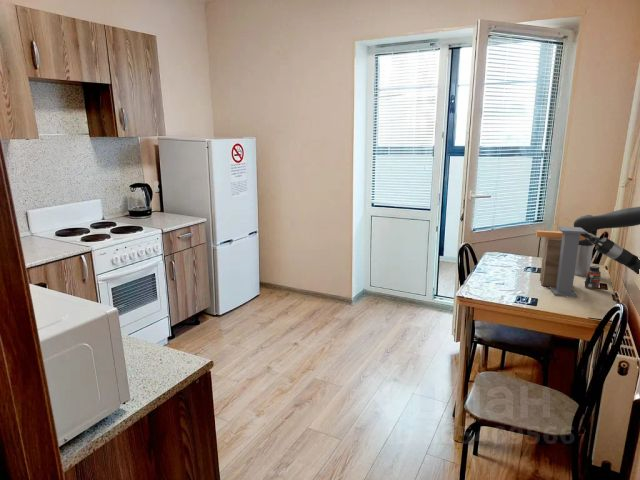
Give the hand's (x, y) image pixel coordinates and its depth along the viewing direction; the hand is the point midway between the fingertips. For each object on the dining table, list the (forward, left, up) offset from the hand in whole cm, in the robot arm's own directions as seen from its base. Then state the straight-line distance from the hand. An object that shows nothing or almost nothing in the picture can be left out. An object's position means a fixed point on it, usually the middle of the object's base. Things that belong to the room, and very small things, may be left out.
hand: (579, 230), depth 215 cm
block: (0, -8, -4) cm, 9 cm away
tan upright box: (0, -8, -29) cm, 30 cm away
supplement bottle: (+1, +9, -29) cm, 31 cm away
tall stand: (+13, -6, -29) cm, 33 cm away
